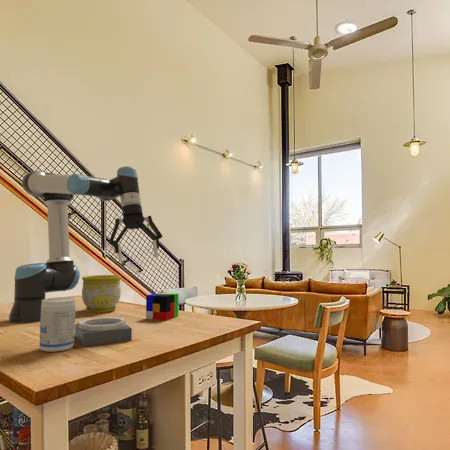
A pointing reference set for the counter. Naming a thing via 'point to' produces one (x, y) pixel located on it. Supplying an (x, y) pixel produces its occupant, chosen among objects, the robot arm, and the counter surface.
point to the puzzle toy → (162, 306)
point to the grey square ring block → (102, 331)
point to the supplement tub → (57, 324)
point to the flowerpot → (101, 292)
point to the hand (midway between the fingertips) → (139, 259)
